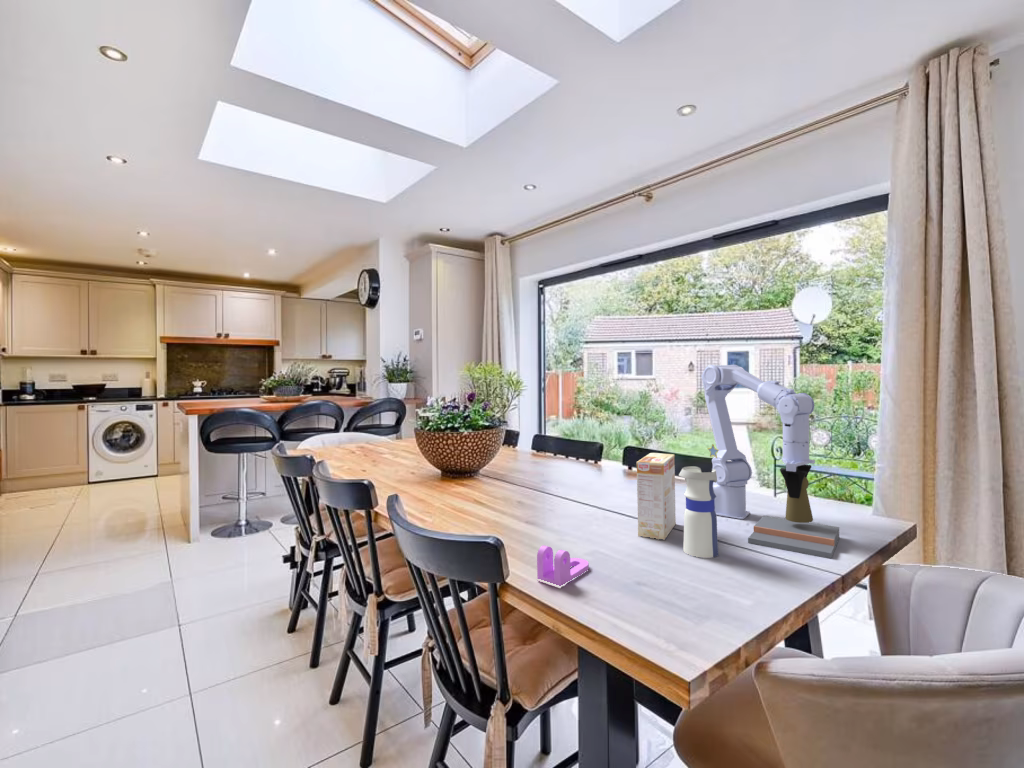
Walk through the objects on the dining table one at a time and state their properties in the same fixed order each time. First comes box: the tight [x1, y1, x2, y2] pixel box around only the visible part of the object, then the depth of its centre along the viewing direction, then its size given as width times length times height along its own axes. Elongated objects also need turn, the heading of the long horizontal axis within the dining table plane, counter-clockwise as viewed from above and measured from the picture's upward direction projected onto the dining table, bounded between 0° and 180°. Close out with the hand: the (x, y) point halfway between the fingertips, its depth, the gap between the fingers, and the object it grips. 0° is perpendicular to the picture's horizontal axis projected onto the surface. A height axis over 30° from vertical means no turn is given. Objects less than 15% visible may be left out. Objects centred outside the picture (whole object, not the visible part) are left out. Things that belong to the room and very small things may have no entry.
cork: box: [784, 477, 814, 523], centre depth 120 cm, size 6×6×11 cm
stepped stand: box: [747, 515, 840, 559], centre depth 118 cm, size 17×17×3 cm
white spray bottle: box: [678, 443, 719, 559], centre depth 112 cm, size 8×9×25 cm
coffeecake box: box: [636, 452, 677, 541], centre depth 127 cm, size 15×7×20 cm, turn 150°
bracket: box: [536, 544, 590, 586], centre depth 101 cm, size 13×6×7 cm, turn 141°
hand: (796, 495), depth 120 cm, fingers closed on cork, 5 cm apart
